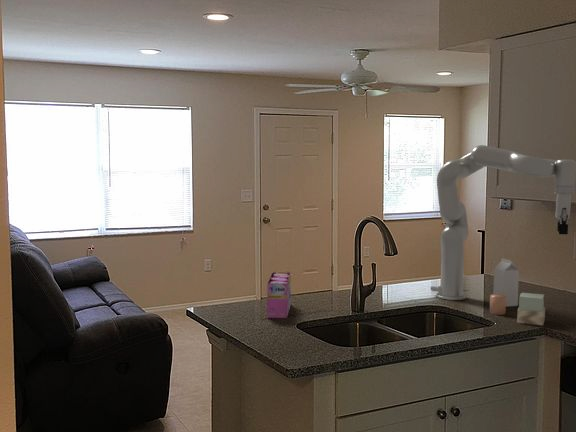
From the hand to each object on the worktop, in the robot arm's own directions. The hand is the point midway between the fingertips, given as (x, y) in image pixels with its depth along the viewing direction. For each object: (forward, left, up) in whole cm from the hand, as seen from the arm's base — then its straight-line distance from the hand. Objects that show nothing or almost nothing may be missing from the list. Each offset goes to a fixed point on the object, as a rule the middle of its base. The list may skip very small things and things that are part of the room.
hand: (562, 232), depth 265 cm
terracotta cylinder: (-22, -20, -31) cm, 43 cm away
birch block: (-9, -28, -31) cm, 43 cm away
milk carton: (-21, -4, -31) cm, 37 cm away
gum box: (-101, -54, -31) cm, 118 cm away
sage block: (-9, -28, -26) cm, 39 cm away
